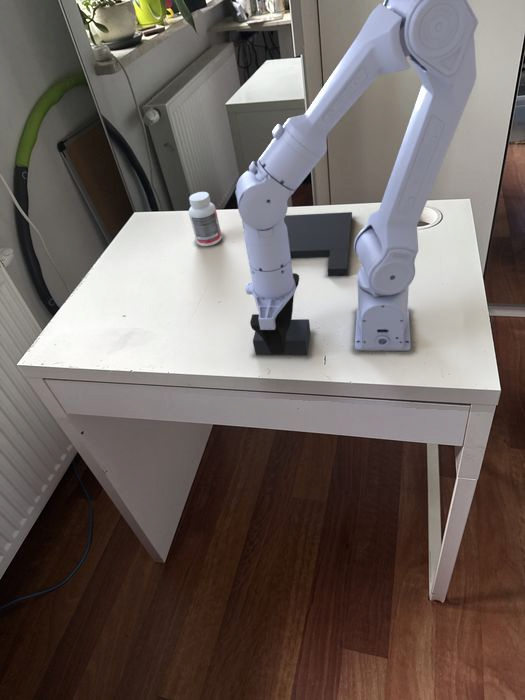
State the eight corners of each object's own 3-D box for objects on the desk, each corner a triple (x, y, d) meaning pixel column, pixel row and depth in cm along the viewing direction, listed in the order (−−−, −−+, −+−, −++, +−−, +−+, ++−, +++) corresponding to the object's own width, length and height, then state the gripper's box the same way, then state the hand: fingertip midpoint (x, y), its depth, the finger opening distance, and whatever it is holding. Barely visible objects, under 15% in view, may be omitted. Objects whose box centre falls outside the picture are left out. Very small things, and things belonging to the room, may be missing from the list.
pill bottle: (226, 239, 107) (217, 195, 101) (204, 250, 105) (193, 205, 99) (213, 230, 111) (203, 187, 104) (192, 240, 109) (180, 197, 102)
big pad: (347, 275, 92) (347, 268, 91) (259, 277, 95) (257, 271, 94) (352, 218, 106) (352, 211, 105) (275, 222, 110) (274, 215, 109)
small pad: (307, 355, 78) (305, 340, 76) (255, 355, 80) (252, 340, 78) (310, 333, 82) (309, 319, 80) (261, 333, 84) (258, 319, 82)
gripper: (250, 233, 77) (263, 305, 86) (230, 292, 66) (247, 368, 75) (298, 231, 75) (306, 305, 84) (284, 291, 65) (295, 368, 74)
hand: (281, 335), depth 80 cm, fingers open, 7 cm apart
